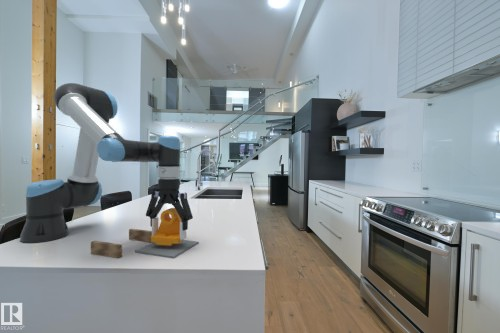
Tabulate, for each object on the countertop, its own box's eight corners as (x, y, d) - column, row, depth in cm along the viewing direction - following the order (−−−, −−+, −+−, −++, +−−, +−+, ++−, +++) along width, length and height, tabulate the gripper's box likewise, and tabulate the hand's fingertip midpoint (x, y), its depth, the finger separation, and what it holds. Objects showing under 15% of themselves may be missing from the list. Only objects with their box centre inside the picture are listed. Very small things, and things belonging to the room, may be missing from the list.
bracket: (149, 244, 86) (149, 210, 86) (159, 238, 94) (160, 207, 93) (178, 246, 85) (178, 212, 85) (186, 239, 92) (186, 208, 92)
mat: (134, 252, 84) (134, 250, 84) (164, 238, 99) (164, 237, 99) (173, 258, 79) (173, 256, 79) (198, 243, 94) (198, 241, 94)
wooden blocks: (90, 253, 83) (90, 241, 83) (131, 238, 100) (131, 228, 100) (118, 258, 79) (118, 246, 79) (155, 241, 96) (155, 231, 96)
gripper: (135, 177, 89) (135, 236, 89) (191, 179, 82) (191, 244, 82) (149, 176, 96) (149, 231, 97) (202, 178, 89) (202, 237, 89)
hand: (168, 237), depth 89 cm, fingers closed on bracket, 11 cm apart
